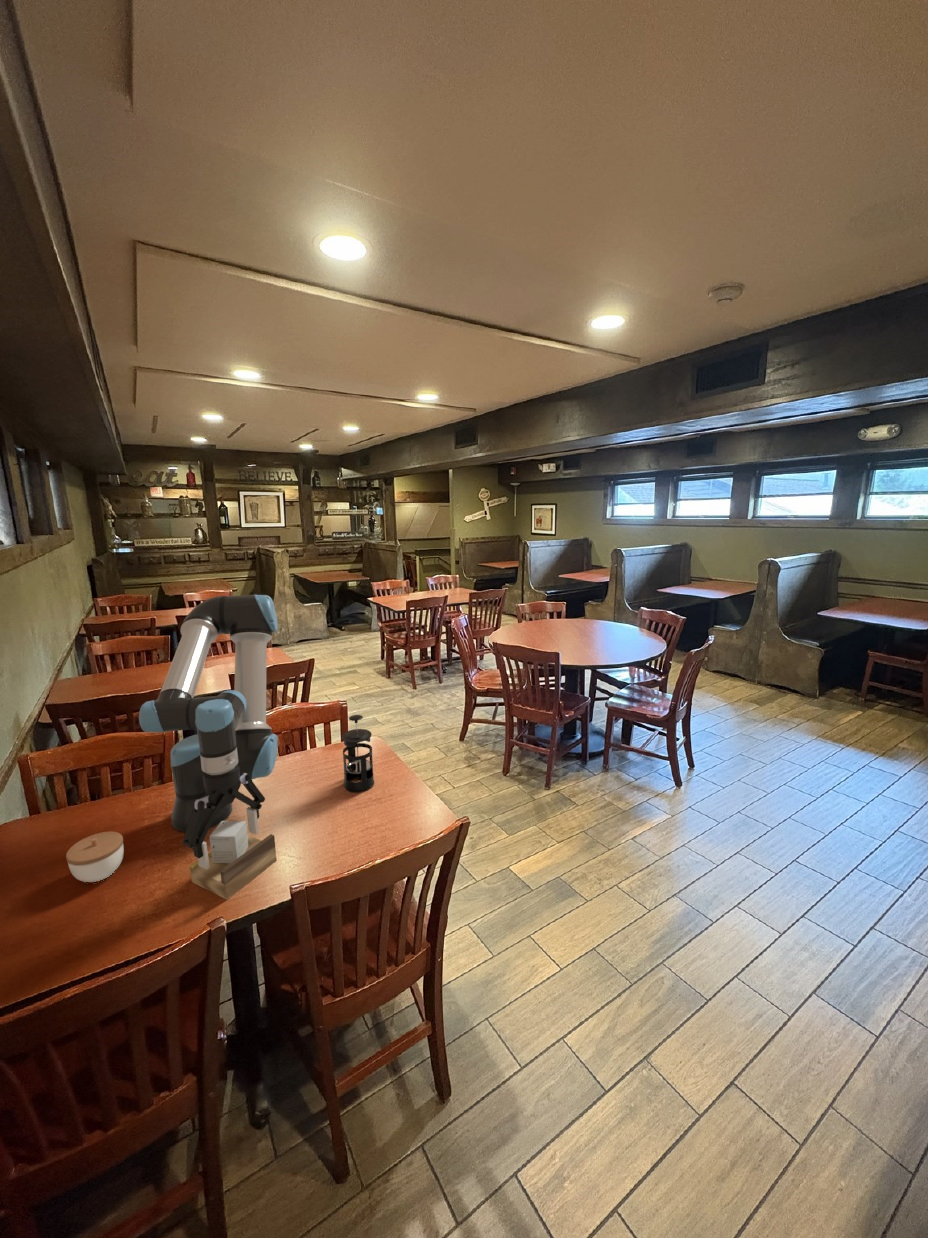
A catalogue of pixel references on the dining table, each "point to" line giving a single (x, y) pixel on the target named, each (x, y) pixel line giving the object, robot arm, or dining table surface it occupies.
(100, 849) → the lidded jar
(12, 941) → the dining table surface
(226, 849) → the product box
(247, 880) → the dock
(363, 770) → the french press
